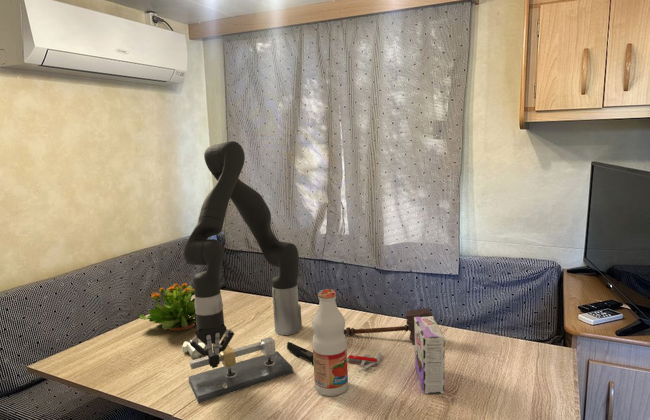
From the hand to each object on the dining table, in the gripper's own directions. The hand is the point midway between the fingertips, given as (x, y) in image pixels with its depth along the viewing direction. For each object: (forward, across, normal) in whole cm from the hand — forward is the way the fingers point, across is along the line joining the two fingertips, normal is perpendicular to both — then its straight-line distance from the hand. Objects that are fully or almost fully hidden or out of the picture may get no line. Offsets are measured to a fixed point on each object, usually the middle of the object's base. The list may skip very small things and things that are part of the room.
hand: (214, 366), depth 125 cm
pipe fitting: (+6, +1, -23) cm, 24 cm away
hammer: (+6, -58, +3) cm, 59 cm away
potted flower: (+6, 0, -50) cm, 50 cm away
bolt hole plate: (+6, -8, 0) cm, 10 cm away
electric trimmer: (+6, -29, -1) cm, 29 cm away
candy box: (+6, -53, +31) cm, 61 cm away
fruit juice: (+6, -28, +19) cm, 34 cm away
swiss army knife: (+6, -42, +12) cm, 44 cm away
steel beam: (+3, -6, -1) cm, 7 cm away
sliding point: (+3, -4, -2) cm, 6 cm away
